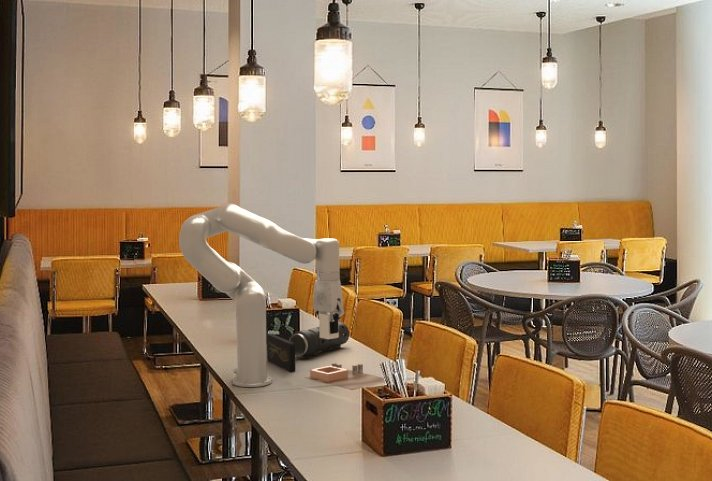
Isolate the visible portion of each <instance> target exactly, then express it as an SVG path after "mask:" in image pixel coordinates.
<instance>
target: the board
mask: <svg viewBox="0 0 712 481" xmlns="http://www.w3.org/2000/svg"><path fill="white" fill-rule="evenodd" d="M342 365H343V364H341V363H336V362H332V363H331V366H334V367H338V368H342ZM346 369H347V368H346ZM363 369H364V366H363V363H358V364H354V365H352V368H351V369H347V370H348V377H347V378H343V379H338V380H334V381H330V382H327V381H323V380H319V379H315V378H311V377H310V376H306V377H304V378H305V379H308V380H312V381H316V382H319V383H323V384H326V385H330V386H331V385H332V386H335V387H339V388H343V389H346V390H351V391H354V390H359V389H362V388H361V387H363V388H365V387H364V386H367V387H370V386H374V385H379V384H383V383H386V382H385V381H384V378H385V377H383V376H382V377H381V376H377V375H373V374H368V373H364V370H363Z"/></svg>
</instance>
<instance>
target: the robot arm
mask: <svg viewBox="0 0 712 481" xmlns="http://www.w3.org/2000/svg"><path fill="white" fill-rule="evenodd" d="M226 232H228V233H231V234H233V235H236V236H238V237H240V238H243V239H245V240H247V241H250V242H252V243H254V244H256V245H258V246H261V247H263V248H265V249H267V250H270V251H273V252H275V253H277V254H278V255H281V256H283V257H284V258H285V257H286V258H288V259H290V260H293V261H295V262H297V263H298V264H304V265H305V264H310V263H311V262H313V261H314V260H315V263H316V265H315V266H316V267H315V268H316V270H315V272H316V275H315V276H316V280H314V285H313V293H312V294H313V295H312V309H313V310H314V312H315V313H316V315H317V320H319V313H325V312H327V313H330V317H331V322H330V334H334V333H338V322H340V320H341V318H342V316H344V314H345V310H344V308H343V307H344V306H343V305H344V304H343V302H344V300H343V291H342V290H343V289H342V283H341V279H340V277H341V276H340V242H339V240H338V239H336V238H319V239H317V238H307V237H306V238H305V237H304V238H303V237H301V236H298V235H296V234H293V233H292V232H290V231H288V230H285V229H283V228H281V227H280V226H279V225H277V224H276V223H274V222H273V221H271V220H269V219H267V218H265V217H262V216H259V215H258V214H255V213H253V212H250V211H249V210H247V209H245V208H242V207H240V206H238V205H237V204H235V203H226V204H222V205H220V206H218V207H215V208H212V209H209V210H206V211H203V212H200V213H196V214H193V215H192V216H190V217H188V218H187V219H186V220H184V221H183V223H182V224H181V227H180V231H179V236H178V245H179V249H180V253H182V255H183V256H182V257H183V258H185V260H186V261H187V262H188V264H190V265H191V267H193V268H194V269H195V270H196V271H197V272H198V273H199V274H200V275H201V276H203V278H205V279H206V280H207V281H208V282H209V283H210V284H211V285H212V286H213V287H214V288H215V290H217V291H219V292H220V293H223V294H226V295H227V296H228V297H230V299H231V300H233V301H234V303H235V318H236V321H235V322H236V323H235V324H236V325H235V326H236V368H234V369H233V370H232V373H233V374H236V377H235V378H234V379H233V380H232V385H234V386H236V387H239V388H240V387H241V388H257V387H264V386H268V385H270V384H272V382H273V378H272V377H271V376H268V361H267V297H266V292H265V290H264V289H263V287H262V286H261V285H260V284H258V282H257V281H256V280H255V279H253V277H251V276H250V275H249V274H248V273H247V272H245V270H243V269H242V268H241V267H240V266H239V265H237V264H236V263H235V262H232V261H227V260H226V259H225V258H223V257H222V256H221V255H220V254H219V253H218V252H217V251H216V250H215V249H213V248H212V247H211V246H210V245H209V243H208V242H207V239H208V238H210V237H213V236H216V235H219V234H223V233H226ZM334 313H335V316H334Z"/></svg>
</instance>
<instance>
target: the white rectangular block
mask: <svg viewBox="0 0 712 481" xmlns="http://www.w3.org/2000/svg"><path fill="white" fill-rule="evenodd" d="M334 316H335V313H334ZM318 320H319V321H318V322H319V325H318V327H319V328H320V338H324V339H333V338H338V337H339V325H338V333H334V334H330V322H331V317H330V313H327V312H325V313H324V312H323V313H319V319H318Z"/></svg>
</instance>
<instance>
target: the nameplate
mask: <svg viewBox="0 0 712 481" xmlns="http://www.w3.org/2000/svg"><path fill="white" fill-rule="evenodd" d="M266 345H267V363H270V364H272V365H275V366H276V367H278V368H280V369H282V370H285V371H286V372H289V373H291V372H292V373H293V372H296V356H295V344H294V343H293V342H291V341H289V340H287V339H286V338H282V337H280V336H279V335H276V334H274V333H269V334H266Z"/></svg>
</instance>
